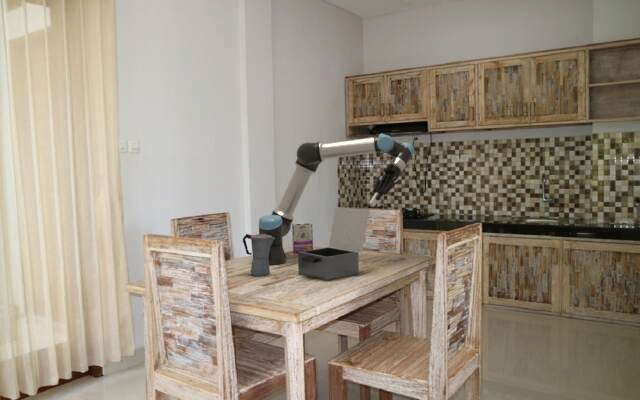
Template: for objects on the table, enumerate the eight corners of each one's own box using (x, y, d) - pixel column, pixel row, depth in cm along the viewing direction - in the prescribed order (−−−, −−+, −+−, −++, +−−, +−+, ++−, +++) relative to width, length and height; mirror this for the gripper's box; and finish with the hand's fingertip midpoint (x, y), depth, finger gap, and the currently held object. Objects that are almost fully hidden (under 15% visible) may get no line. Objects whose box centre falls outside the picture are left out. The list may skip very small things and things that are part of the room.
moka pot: (272, 277, 215) (271, 231, 214) (239, 276, 218) (237, 231, 217) (278, 272, 224) (277, 229, 223) (246, 271, 227) (245, 228, 226)
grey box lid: (335, 207, 234) (337, 207, 234) (328, 246, 232) (330, 246, 232) (367, 209, 217) (369, 209, 218) (359, 251, 215) (361, 252, 216)
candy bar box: (311, 250, 282) (311, 222, 281) (313, 252, 277) (312, 223, 276) (292, 251, 280) (291, 223, 279) (293, 253, 275) (292, 224, 274)
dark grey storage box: (294, 274, 219) (293, 252, 218) (329, 268, 232) (328, 247, 231) (323, 282, 203) (322, 258, 203) (358, 274, 216) (358, 252, 215)
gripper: (408, 173, 240) (385, 210, 230) (388, 174, 250) (366, 209, 241) (401, 163, 236) (377, 199, 227) (381, 163, 246) (358, 198, 237)
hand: (371, 204), depth 234 cm, fingers closed
